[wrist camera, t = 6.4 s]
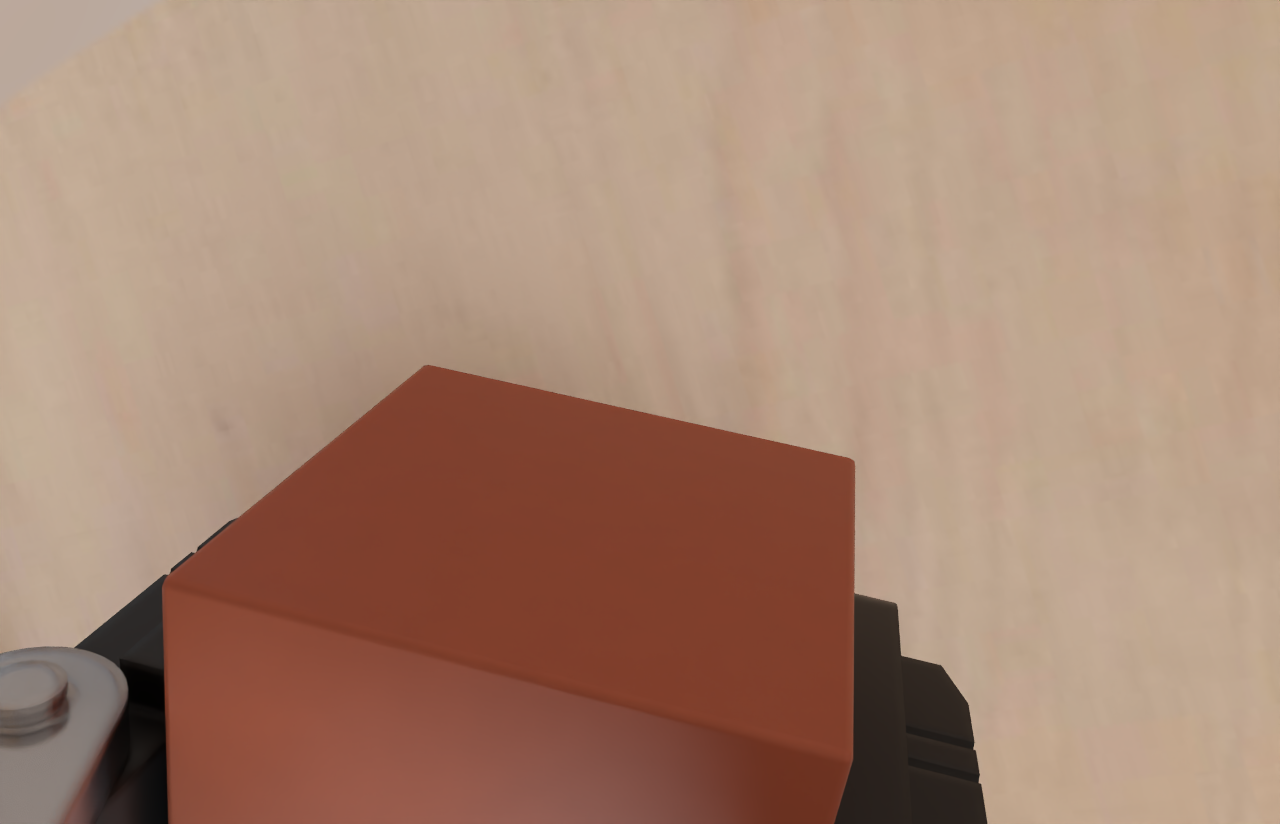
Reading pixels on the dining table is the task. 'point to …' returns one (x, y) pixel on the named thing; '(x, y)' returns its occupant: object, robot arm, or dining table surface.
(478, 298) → the dining table surface
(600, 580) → the block
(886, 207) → the dining table surface
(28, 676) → the robot arm
